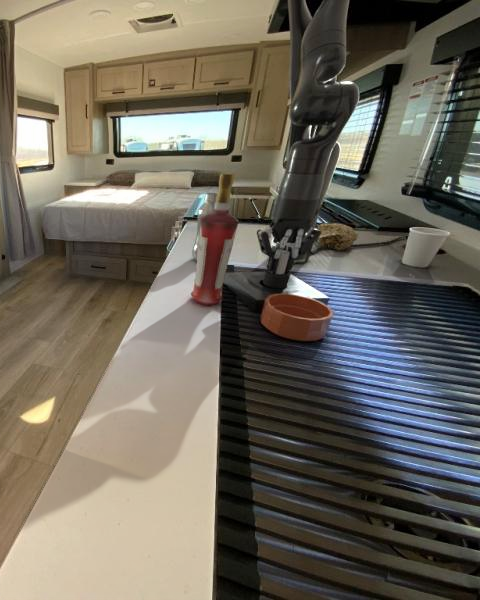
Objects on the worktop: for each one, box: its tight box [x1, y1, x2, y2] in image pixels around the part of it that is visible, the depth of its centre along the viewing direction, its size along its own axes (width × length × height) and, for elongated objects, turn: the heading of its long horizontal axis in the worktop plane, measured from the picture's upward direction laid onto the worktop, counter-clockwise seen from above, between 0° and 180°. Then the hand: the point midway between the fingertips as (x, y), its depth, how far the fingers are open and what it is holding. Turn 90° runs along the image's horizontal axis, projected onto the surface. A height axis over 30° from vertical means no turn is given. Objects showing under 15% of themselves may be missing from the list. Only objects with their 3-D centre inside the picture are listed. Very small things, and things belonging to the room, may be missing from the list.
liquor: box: [190, 172, 239, 306], centre depth 71 cm, size 7×7×28 cm
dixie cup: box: [401, 226, 451, 268], centre depth 96 cm, size 8×8×10 cm
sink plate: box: [223, 271, 330, 313], centre depth 79 cm, size 16×16×3 cm
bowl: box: [259, 294, 335, 342], centre depth 65 cm, size 11×11×5 cm
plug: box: [263, 250, 291, 288], centre depth 76 cm, size 5×5×8 cm
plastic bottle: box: [191, 192, 218, 261], centre depth 98 cm, size 6×7×20 cm
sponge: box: [316, 222, 359, 251], centre depth 116 cm, size 13×8×20 cm
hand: (278, 271), depth 77 cm, fingers closed on plug, 2 cm apart
